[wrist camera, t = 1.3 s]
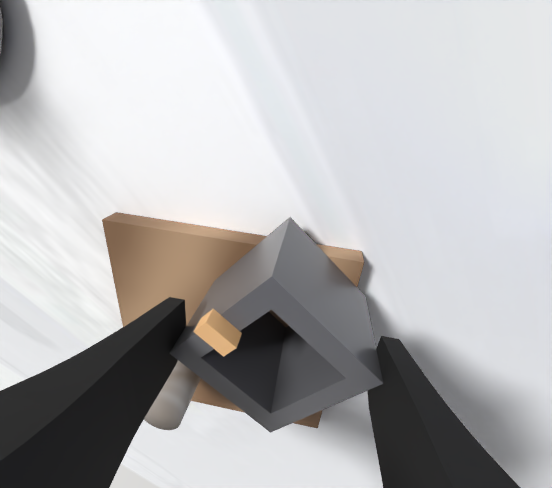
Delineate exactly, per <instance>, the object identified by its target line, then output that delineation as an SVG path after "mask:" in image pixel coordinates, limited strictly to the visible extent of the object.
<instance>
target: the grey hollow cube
mask: <svg viewBox="0 0 552 488" xmlns="http://www.w3.org/2000/svg"><path fill="white" fill-rule="evenodd" d="M270 310H273V311H274V312H275V313H276V314H277V315H278V316H279V317H280V318H281V319H282V320H283V321H285V322H286V323H287V324H288V325H289V326H287V327H285V326H284V325H283V324H282V323H281V322H280V321H278V320H277V319H276V318H275V317H274V316H273V315H272V314H271V313H270V312H269V311H270ZM169 354H171V355H172V356H173V357H175V358H176V359H177V360H178V361H180V362H181V363H182V364H184V365H185V366H186V367H187V368H189V369H190V370H191V371H193V372H194V373H195V374H196V375H198V376H199V377H200V378H201V379H203V380H204V381H205V382H207V383H208V384H209V385H210V386H212V387H213V388H214V389H216V390H217V391H218V392H219V393H221V394H222V395H223V396H225V397H226V398H227V399H228V400H230V401H231V402H232V403H233V404H235V405H236V406H237V407H239V408H240V409H241V410H242V411H244V412H245V413H246V414H248V415H249V416H250V417H251V418H253V419H254V420H255V421H257V422H258V423H259V424H260V425H262V426H263V427H264V428H265V429H267V430H268V431H269V432H273V431H275V430H277V429H280V428H282V427H284V426H286V425H289V424H291V423H293V422H296V421H298V420H300V419H303V418H305V417H307V416H310V415H312V414H314V413H317V412H319V411H321V410H323V409H326V408H328V407H330V406H333V405H335V404H337V403H340V402H342V401H344V400H347V399H349V398H351V397H354V396H356V395H358V394H361V393H363V392H365V391H367V390H370V389H372V388H374V387H377V386H379V385H381V384H383V379H382V374H381V369H380V364H379V359H378V354H377V350H376V345H375V340H374V335H373V330H372V325H371V320H370V315H369V310H368V306H367V301H366V296H365V295H364V294H363V293H362V292H361V291H360V290H359V289H358V288H357V287H356V285H355V284H354V283H353V282H352V281H351V280H350V279H349V278H348V277H347V276H346V275H345V274H344V273H343V272H342V271H341V270H340V269H339V268H338V267H337V266H336V265H335V263H334V262H333V261H332V260H331V259H330V258H329V257H328V256H327V255H326V254H325V253H324V252H323V251H322V250H321V249H320V248H319V247H318V246H317V245H316V244H315V243H314V241H313V240H312V239H311V238H310V237H309V236H308V235H307V234H306V233H305V232H304V231H303V230H302V229H301V228H300V227H299V226H298V225H297V224H296V223H295V222H294V220H293V219H292V218H291V217H290V218H288V219H287V220H286V221H285V222H284V223H282V224H281V225H280V226H279V227H278V228H276V229H275V230H274V231H273V232H272V233H271V234H269V235H268V236H267V237H266V238H265V239H263V240H262V241H261V242H260V243H259V244H257V245H256V246H255V247H254V248H253V249H252V250H250V251H249V252H248V253H247V254H246V255H244V256H243V257H242V258H241V259H240V260H238V261H237V262H236V263H235V264H234V265H233V266H231V267H230V268H229V269H228V270H227V271H225V272H224V273H223V274H222V275H221V276H220V277H218V278H217V279H216V280H215V281H214V282H213V284H212V286H211V287H210V289H209V290H208V292H207V294H206V295H205V297H204V299H203V300H202V302H201V303H200V305H199V307H198V308H197V310H196V311H195V313H194V315H193V316H192V318H191V319H190V321H189V323H188V324H187V326H186V327H185V329H184V331H183V332H182V334H181V335H180V337H179V339H178V340H177V342H176V344H175V345H174V347H173V348H172V350H171V352H170V353H169Z"/></svg>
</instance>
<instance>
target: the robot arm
mask: <svg viewBox="0 0 552 488" xmlns="http://www.w3.org/2000/svg"><path fill="white" fill-rule="evenodd" d="M185 327H186V312H185V300H183V299H178V298H173V297H169V298H167V299H165V300H164V301H162V302H161V303H159V304H158V305H156V306H155V307H153V308H152V309H150V310H149V311H147V312H146V313H144V314H143V315H141V316H140V317H138V318H137V319H135V320H134V321H132V322H131V323H129V324H128V325H126V326H124V327H123V328H121V329H120V330H118V331H117V332H115V333H113V334H112V335H110V336H108V337H106V338H105V339H103V340H101V341H100V342H98V343H96V344H95V345H93V346H91V347H90V348H88V349H86V350H84V351H83V352H81V353H79V354H77V355H75V356H73V357H71V358H70V359H68V360H66V361H64V362H62V363H60V364H58V365H56V366H54V367H52V368H50V369H48V370H46V371H44V372H42V373H39V374H37V375H35V376H33V377H31V378H28V379H26V380H24V381H22V382H19V383H17V384H15V385H13V386H10V387H8V388H6V389H4V390H1V391H0V488H109V487H110V485H111V483H112V480H113V478H114V476H115V474H116V472H117V470H118V468H119V466H120V464H121V462H122V460H123V458H124V456H125V454H126V451H127V449H128V447H129V445H130V443H131V441H132V439H133V437H134V435H135V434H136V432H137V430H138V428H139V426H140V425H141V423H142V421H143V420H144V418H145V416H146V415H147V413H148V411H149V410H150V408H151V406H152V405H153V403H154V401H155V400H156V398H157V396H158V395H159V393H160V391H161V389H162V388H163V386H164V384H165V383H166V381H167V379H168V378H169V376H170V374H171V373H172V371H173V369H174V367H175V366H176V364H177V361H178V360H177V359H176V358H175V357H173V356H172V355H171V354H169V353H170V352H171V350H172V348H173V347H174V345H175V344H176V342H177V340H178V339H179V337H180V335H181V334H182V332H183V331H184V329H185ZM376 350H377V354H378V359H379V364H380V369H381V374H382V379H383V384H381V385H379V386H377V387H374V388H372V389H370V390H368V402H369V410H370V416H371V421H372V427H373V432H374V438H375V443H376V449H377V454H378V460H379V465H380V471H381V476H382V482H383V488H520V487H519V486H518V485H517V484H516V483H515V482H514V481H513V480H512V479H511V478H510V477H509V476H508V474H507V473H506V472H505V471H504V470H503V469H502V468H501V467H500V466H499V465H498V464H497V463H496V461H495V460H494V459H493V458H492V457H491V456H490V455H489V454H488V453H487V452H486V451H485V450H484V448H483V447H482V446H481V445H480V444H479V443H478V442H477V441H476V439H475V438H474V437H473V436H472V435H471V434H470V432H469V431H468V430H467V429H466V428H465V426H464V425H463V424H462V423H461V422H460V420H459V419H458V418H457V417H456V415H455V414H454V413H453V412H452V411H451V409H450V408H449V407H448V406H447V404H446V403H445V402H444V400H443V399H442V398H441V397H440V395H439V394H438V393H437V391H436V390H435V389H434V387H433V386H432V385H431V383H430V382H429V381H428V379H427V378H426V376H425V375H424V374H423V372H422V371H421V369H420V368H419V367H418V365H417V364H416V362H415V361H414V360H413V358H412V357H411V355H410V354H409V353H408V351H407V350H406V348H405V347H404V346H403V344H402V343H401V341H400V340H399V339H394V338H389V337H384V336H381V338H380V341H379V344H378V347H377V349H376Z"/></svg>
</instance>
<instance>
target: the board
mask: <svg viewBox="0 0 552 488" xmlns="http://www.w3.org/2000/svg"><path fill="white" fill-rule="evenodd" d="M102 222H103V227H104V232H105V237H106V242H107V247H108V252H109V257H110V262H111V267H112V273H113V278H114V283H115V288H116V293H117V298H118V303H119V308H120V313H121V318H122V323H123V327H124V326H126V325H128V324H129V323H131V322H132V321H134V320H135V319H137V318H138V317H140V316H141V315H143V314H144V313H146V312H147V311H149V310H150V309H152V308H153V307H155V306H156V305H158V304H159V303H161V302H162V301H164V300H165V299H167V298H169V297H173V298H178V299H183V300H185V312H186V326H187V324H188V323H189V321H190V319H191V318H192V316H193V315H194V313H195V311H196V310H197V308H198V307H199V305H200V303H201V302H202V300H203V299H204V297H205V295H206V294H207V292H208V290H209V289H210V287H211V286H212V284H213V282H214V281H215V280H216V279H217V278H218V277H220V276H221V275H222V274H223V273H224V272H225V271H227V270H228V269H229V268H230V267H231V266H233V265H234V264H235V263H236V262H237V261H238V260H240V259H241V258H242V257H243V256H244V255H246V254H247V253H248V252H249V251H250V250H252V249H253V248H254V247H255V246H256V245H257V244H259V243H260V242H261V241H262V240H263V239H265V238H266V237H267V236H262V235H256V234H249V233H243V232H237V231H230V230H224V229H218V228H211V227H205V226H199V225H193V224H186V223H180V222H174V221H167V220H161V219H155V218H148V217H142V216H136V215H129V214H123V213H117V212H116V213H114V214H112V215H110V216H108V217H106V218H105V219H103V220H102ZM316 245H317V246H318V247H319V248H320V249H321V250H322V251H323V252H324V253H325V254H326V255H327V256H328V257H329V258H330V259H331V260H332V261H333V262H334V263H335V265H336V266H337V267H338V268H339V269H340V270H341V271H342V272H343V273H344V274H345V275H346V276H347V277H348V278H349V279H350V280H351V281H352V282H353V283H354V284H355V285H356V287H357V286H358V283H359V279H360V275H361V272H362V268H363V265H364V259H363V255H362V251H357V250H350V249H344V248H338V247H331V246H325V245H319V244H316ZM269 312H270V313H271V314H272V315H273V316H274V317H275V318H276V319H277V320H278V321H280V322H281V323H282V324H283V325H284V326H285V327H287V326H289V325H288V324H287V323H286V322H285V321H283V320H282V319H281V318H280V317H279V316H278V315H277V314H276V313H275V312H274V311H273V310H270V311H269ZM190 401H195V402H200V403H204V404H209V405H213V406H218V407H222V408H227V409H232V410H236V411H241V412H244V411H242V410H241V409H240V408H239V407H237V406H236V405H235V404H233V403H232V402H231V401H230V400H228V399H227V398H226V397H225V396H223V395H222V394H221V393H219V392H218V391H217V390H216V389H214V388H213V387H212V386H210V385H209V384H208V383H207V382H205V381H204V380H203V379H201V378H200V377H199V376H198V375H196V374H195V373H194V372H193V371H191V370H190V369H189V368H187V367H186V366H185V365H184V364H182V363H181V362H180V361H177V364H176V366H175V367H174V369H173V371H172V373H171V374H170V376H169V378H168V379H167V381H166V383H165V384H164V386H163V388H162V389H161V391H160V393H159V395H158V396H157V398H156V400H155V401H154V403H153V405H152V406H151V408H150V410H149V411H148V413H147V415H146V416H145V418H144V420H145V421H146V422H148V423H149V424H151V425H152V426H154V427H157V428H159V429H164V430H173V429H176V428H178V427H179V425H180V423H181V421H182V419H183V416H184V414H185V412H186V410H187V408H188V405H189V403H190ZM321 414H322V410H321V411H319V412H317V413H314V414H312V415H310V416H307V417H305V418H303V419H300V420H298V421H296V422H293V423H295V424H300V425H305V426H309V427H314V428H318V425H319V421H320V418H321Z"/></svg>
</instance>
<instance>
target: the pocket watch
mask: <svg viewBox="0 0 552 488" xmlns="http://www.w3.org/2000/svg"><path fill="white" fill-rule="evenodd" d="M2 28H3V18H2V13H1V9H0V55H1V46H2Z"/></svg>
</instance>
